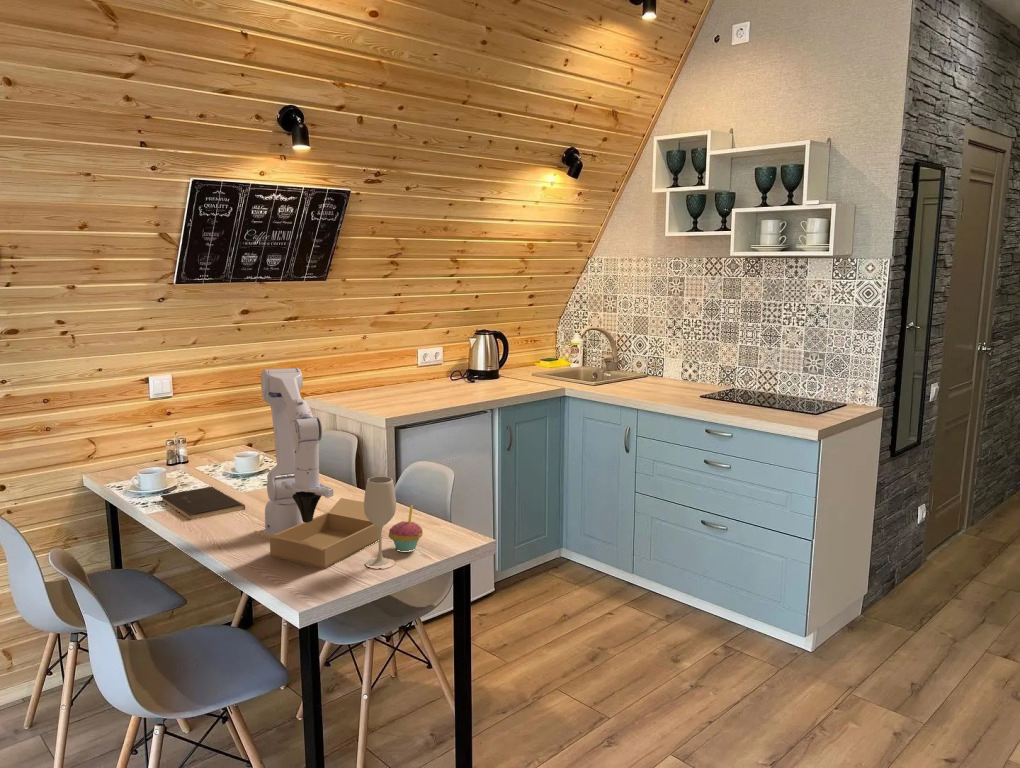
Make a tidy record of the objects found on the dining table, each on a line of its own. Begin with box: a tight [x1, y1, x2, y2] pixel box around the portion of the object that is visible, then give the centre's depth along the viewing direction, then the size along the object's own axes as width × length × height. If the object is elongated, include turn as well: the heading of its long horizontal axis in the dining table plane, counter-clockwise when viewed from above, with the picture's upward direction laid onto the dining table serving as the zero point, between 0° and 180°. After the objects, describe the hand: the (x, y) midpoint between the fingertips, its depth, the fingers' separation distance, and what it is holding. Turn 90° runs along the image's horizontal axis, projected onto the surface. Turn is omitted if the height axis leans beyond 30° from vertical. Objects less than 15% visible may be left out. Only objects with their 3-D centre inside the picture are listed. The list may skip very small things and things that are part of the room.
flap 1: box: [253, 530, 324, 551], centre depth 185 cm, size 17×6×1 cm
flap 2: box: [328, 497, 369, 520], centre depth 209 cm, size 17×6×1 cm, turn 64°
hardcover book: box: [160, 486, 246, 521], centre depth 230 cm, size 16×23×2 cm
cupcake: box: [388, 503, 424, 551], centre depth 197 cm, size 9×8×12 cm
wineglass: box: [363, 475, 397, 566], centre depth 187 cm, size 8×8×21 cm
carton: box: [269, 511, 379, 570], centre depth 198 cm, size 17×22×5 cm
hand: (307, 521), depth 191 cm, fingers closed
